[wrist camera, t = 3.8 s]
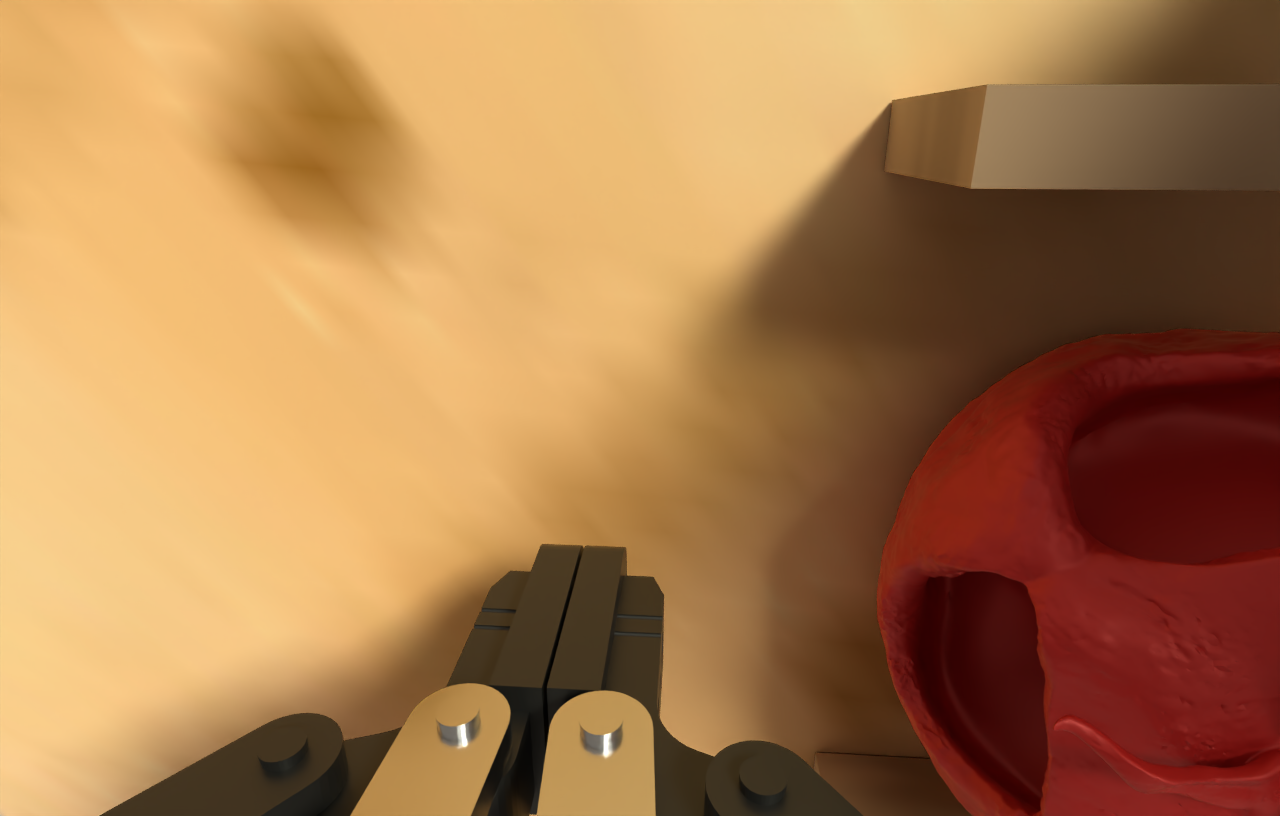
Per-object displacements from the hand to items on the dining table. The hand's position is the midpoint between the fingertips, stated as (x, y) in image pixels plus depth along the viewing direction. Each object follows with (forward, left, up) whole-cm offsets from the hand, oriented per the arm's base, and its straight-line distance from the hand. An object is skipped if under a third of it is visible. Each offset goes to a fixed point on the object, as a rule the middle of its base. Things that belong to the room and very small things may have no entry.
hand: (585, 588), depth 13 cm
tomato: (-10, 0, -4) cm, 11 cm away
